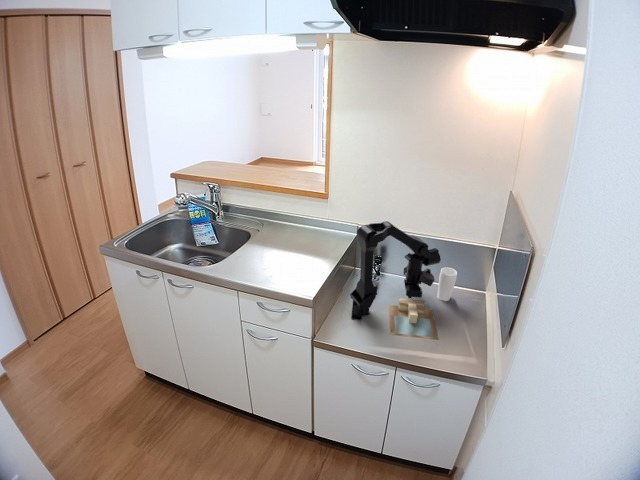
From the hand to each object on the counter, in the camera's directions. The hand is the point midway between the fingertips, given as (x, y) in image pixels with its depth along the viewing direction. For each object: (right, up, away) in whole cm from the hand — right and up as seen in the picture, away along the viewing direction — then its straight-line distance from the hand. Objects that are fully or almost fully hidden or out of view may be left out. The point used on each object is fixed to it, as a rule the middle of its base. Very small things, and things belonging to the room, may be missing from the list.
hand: (409, 297), depth 155 cm
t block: (-1, -6, -9) cm, 10 cm away
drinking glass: (+15, -2, +3) cm, 16 cm away
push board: (-2, -9, -11) cm, 15 cm away
